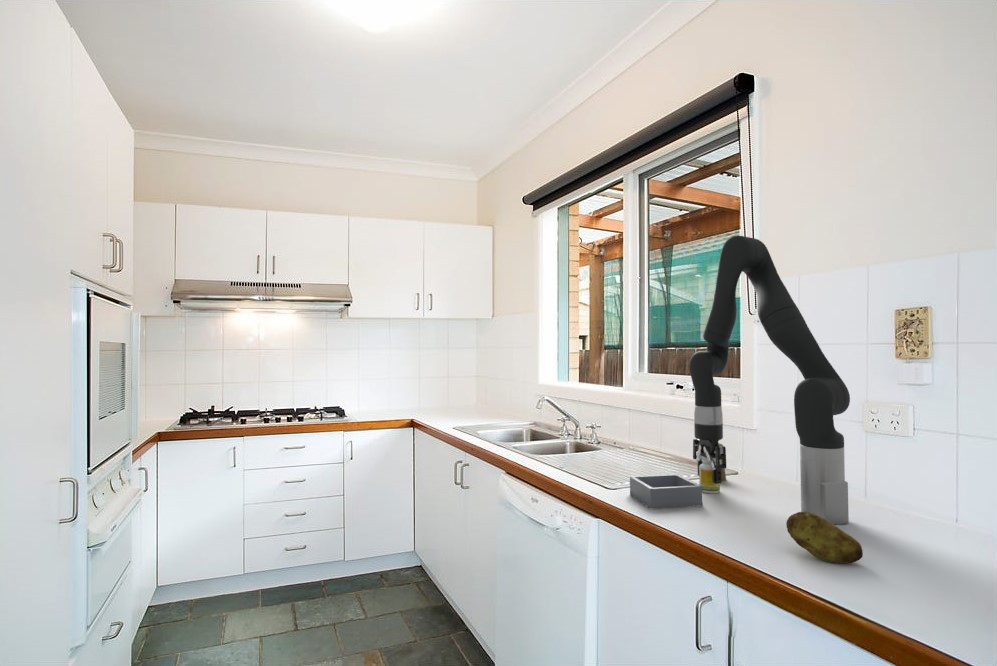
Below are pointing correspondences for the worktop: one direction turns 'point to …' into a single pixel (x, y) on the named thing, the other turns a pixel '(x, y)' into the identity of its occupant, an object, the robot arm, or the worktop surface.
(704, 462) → the supplement bottle
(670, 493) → the box
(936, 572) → the worktop surface
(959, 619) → the worktop surface
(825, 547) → the potato
